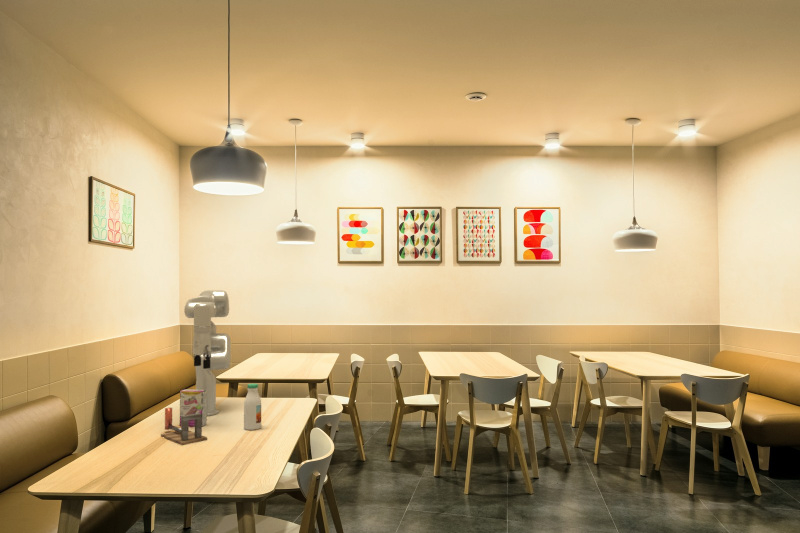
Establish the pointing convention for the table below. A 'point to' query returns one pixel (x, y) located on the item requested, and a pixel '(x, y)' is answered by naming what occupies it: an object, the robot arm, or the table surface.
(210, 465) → the table surface
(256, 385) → the milk bottle
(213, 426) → the table surface
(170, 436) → the eye stand
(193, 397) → the candy bar box
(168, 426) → the lever
